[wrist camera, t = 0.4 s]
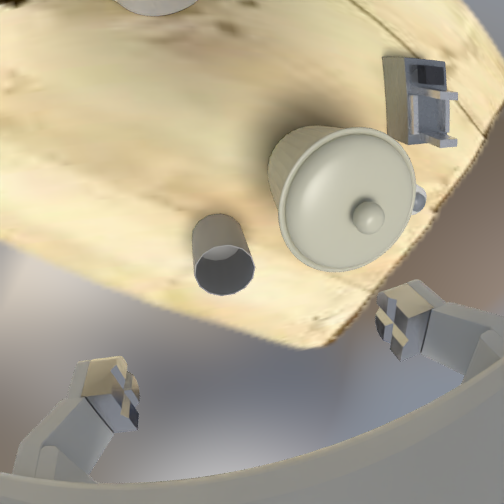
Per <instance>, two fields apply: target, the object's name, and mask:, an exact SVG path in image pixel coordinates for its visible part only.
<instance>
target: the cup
mask: <svg viewBox="0 0 504 504" xmlns="http://www.w3.org/2000/svg"><path fill="white" fill-rule="evenodd" d="M192 250H193V264H194V276H195V278H196V281H197V283H198V285H199V287H201V288H202V289H204V290H205V291H206V292H208V293H210V294H214V295H219V296H224V295H231V294H235V293H237V292H239V291H240V290H242V289H244V288H246V286H247V285H248V284H249V283H250V281H251V280H252V279H253V276H254V271H255V265H254V262H253V259H252V256H251V253H250V251H249V248H248V245H247V242H246V240H245V237H244V234H243V232H242V229H241V226H240V224H239V223H238V222H237V221H236V220H235V219H234V218H233V217H231V216H227V215H224V214H214V215H208V216H207V217H205V218H204V219H202V220H200V221H199V222H198V224H197V225H196V227H195V228H194V230H193V234H192Z"/></svg>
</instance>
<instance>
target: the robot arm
mask: <svg viewBox="0 0 504 504" xmlns="http://www.w3.org/2000/svg"><path fill="white" fill-rule="evenodd" d="M114 1H116V2H118V3H119V4H120V5H122V6H123V7H124V8H126V9H127V10H129V11H131V12H134V13H137V14H140V15H146V16H161V15H167V14H172V13H175V12H178V11H181V10H183V9H185V8H187V7H189V6H191V5H192V4H194V3H195V2H196V1H198V0H114ZM377 304H378V306H380V308H379V310H378V311H377V313H376V316H375V317H376V318H375V324H376V328H377V331H378V333H379V335H380V337H381V338H382V340H383V341H386V342H389V343H391V345H390V350H391V351H392V352H393V354H394V355H395V356H396V357H397V359H398V360H399V361H400V362H401V361H404V360H406V359H408V358H411V357H413V356H415V355H418V354H420V353H421V354H422V355H423V356H425V357H427V358H429V359H431V360H434V361H436V362H438V363H440V364H442V365H444V366H446V367H448V368H450V369H452V370H454V371H456V372H459V373H460V374H463V375H465V376H464V379H463V381H462V383H461V385H460V386H458V387H457V388H455V389H453V390H452V391H450V392H448V393H446V394H445V395H443V396H441V397H439V398H437V399H435V400H434V401H432V402H430V403H428V404H426V405H424V406H422V407H421V408H418V409H416V410H415V411H413V412H410V413H408V414H406V415H404V416H402V417H400V418H398V419H396V420H394V421H391V422H389V423H387V424H385V425H383V426H380V427H378V428H375V429H373V430H371V431H368V432H366V433H363V434H361V435H358V436H356V437H353V438H351V439H348V440H345V441H343V442H340V443H337V444H334V445H331V446H329V447H325V448H323V449H319V450H316V451H314V452H310V453H307V454H304V455H300V456H297V457H294V458H290V459H286V460H283V461H279V462H275V463H271V464H267V465H263V466H258V467H254V468H250V469H244V470H240V471H234V472H229V473H224V474H218V475H211V476H205V477H198V478H191V479H181V480H172V481H160V482H144V483H98V482H96V481H95V480H94V479H92V478H91V477H90V476H89V474H90V472H91V470H92V469H93V467H94V466H95V464H96V463H97V461H98V459H99V458H100V456H101V454H102V453H103V451H104V450H105V448H106V446H107V445H108V443H109V442H110V440H111V439H112V437H113V435H114V433H119V432H127V431H136V430H138V419H139V413H138V411H137V410H136V409H135V408H136V406H137V405H138V404H139V402H140V392H139V387H138V384H137V381H136V379H135V377H134V375H133V374H131V373H130V372H128V371H127V363H126V361H125V360H124V358H123V357H121V356H115V357H108V358H100V359H93V360H85V361H79V362H78V363H77V364H76V367H75V370H74V374H73V377H72V380H71V384H70V387H69V391H68V394H67V398H66V399H62V400H61V401H60V402H59V403H58V404H57V405H56V406H55V407H54V408H53V409H52V410H51V411H50V412H49V413H48V414H47V415H46V416H45V417H44V419H42V421H41V422H40V423H39V424H38V425H37V426H36V427H35V428H34V429H33V430H32V431H31V432H30V433H29V434H28V435H27V436H26V437H25V438H24V440H22V442H21V443H20V445H19V449H18V452H17V456H16V460H15V464H14V468H13V473H12V474H8V473H3V472H0V504H504V316H500V315H497V314H493V313H489V312H486V311H482V310H479V309H475V308H471V307H467V306H464V305H460V304H457V303H453V302H448V303H446V302H445V301H444V300H443V299H441V298H440V297H439V296H438V295H437V294H436V293H434V292H433V291H432V290H431V289H430V288H429V287H427V286H426V285H425V284H424V283H423V282H422V281H420V280H417V279H415V280H413V281H410V282H407V283H405V284H403V285H400V286H397V287H394V288H391V289H388V290H385V291H383V292H379V294H378V296H377Z"/></svg>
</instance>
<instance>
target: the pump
mask: <svg viewBox="0 0 504 504" xmlns="http://www.w3.org/2000/svg"><path fill="white" fill-rule="evenodd" d="M425 202H426V192H425V190H424V189H423V188H422V187H420V186H418V185H417V184H416V197H415V203H414V207H413V211H412V214H411V215H414V214H417V213H418V212H420V211H421V210H422V209H423V207H424V206H425Z"/></svg>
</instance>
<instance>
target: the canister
mask: <svg viewBox="0 0 504 504" xmlns="http://www.w3.org/2000/svg"><path fill="white" fill-rule="evenodd" d="M269 159H270V160H269V164H268V172H267V173H268V182H269V185H270V189H271V193H272V196H273V199H274V201H275V204H276V207H277V209H278V219H279V226H280V230H281V234H282V237H283V239H284V241H285V243H286V245H287V247H288V248H289V250H290V251H291V252H292V253H293V255H294V256H295V257H296V258H297V259H299V260H300V261H301V262H303V263H304V264H306V265H307V266H309V267H312V268H314V269H317V270H321V271H326V272H344V271H350V270H354V269H357V268H360V267H362V266H365V265H367V264H369V263H371V262H372V261H374V260H376V259H377V258H379V257H380V256H381V255H383V254H384V253H385V252H386V251H387V250H388V249H389V248H390V247H391V246H392V245H393V244H394V243H395V242H396V241H397V239H398V238H399V237H400V235H401V234H402V232H403V231H404V229H405V227H406V225H407V223H408V221H409V219H410V217H411V214H412V211H413V207H414V203H415V197H416V179H415V173H414V169H413V166H412V163H411V161H410V158H409V157H408V155H407V153H406V152H405V150H404V149H403V148H402V146H401V145H400V144H399V143H398V142H397V141H396V140H394V139H393V138H392V137H390V136H389V135H387V134H385V133H383V132H381V131H378V130H375V129H371V128H365V127H351V128H345V129H343V128H337V127H328V126H317V125H313V126H305V127H303V128H298V129H297V130H294V131H291V132H290V133H289V134H287V135H285V137H284V138H283V139H281V140H280V142H279V143H278V144H277V145H276V147H275V149H274V150H273V151H272V155H271V157H270V158H269Z"/></svg>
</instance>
